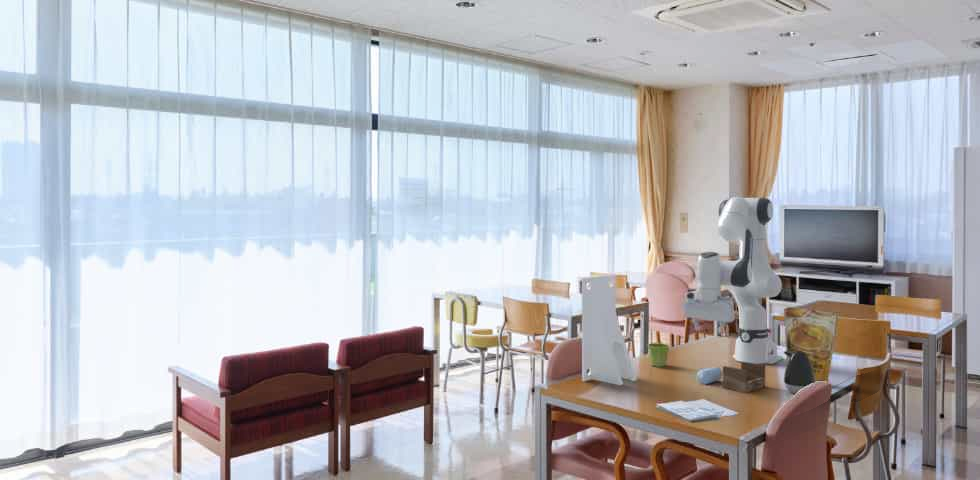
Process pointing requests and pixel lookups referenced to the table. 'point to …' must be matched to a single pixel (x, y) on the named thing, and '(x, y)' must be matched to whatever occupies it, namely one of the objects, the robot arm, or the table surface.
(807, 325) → the pancake mix bag
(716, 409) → the light blue flat cloth
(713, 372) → the blue roll
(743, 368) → the open wooden box
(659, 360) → the plant pot
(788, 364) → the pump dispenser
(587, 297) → the white bracket plate
